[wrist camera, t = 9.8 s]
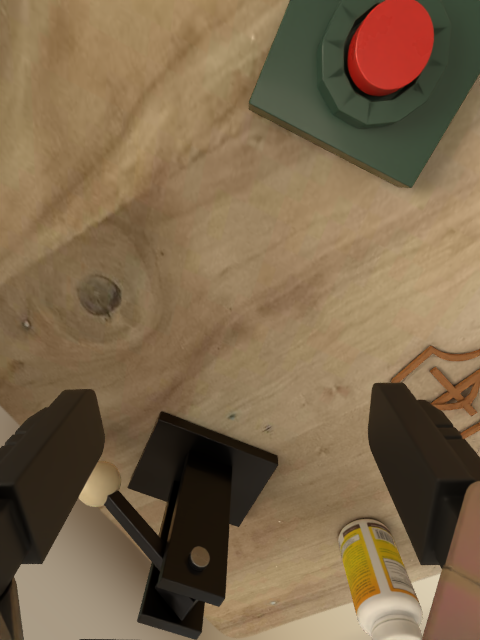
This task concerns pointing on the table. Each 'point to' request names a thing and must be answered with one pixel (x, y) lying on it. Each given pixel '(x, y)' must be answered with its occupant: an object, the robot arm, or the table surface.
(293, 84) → the control block
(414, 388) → the table surface
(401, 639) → the supplement bottle
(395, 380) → the emblem
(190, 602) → the lever
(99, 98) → the table surface
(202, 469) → the bracket
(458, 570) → the robot arm
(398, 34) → the button
